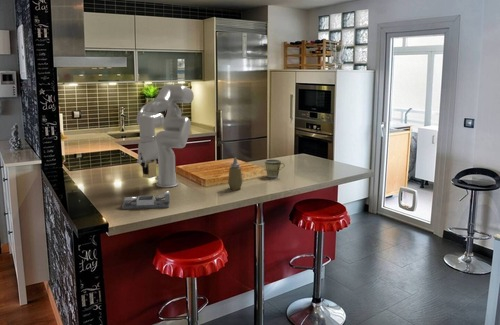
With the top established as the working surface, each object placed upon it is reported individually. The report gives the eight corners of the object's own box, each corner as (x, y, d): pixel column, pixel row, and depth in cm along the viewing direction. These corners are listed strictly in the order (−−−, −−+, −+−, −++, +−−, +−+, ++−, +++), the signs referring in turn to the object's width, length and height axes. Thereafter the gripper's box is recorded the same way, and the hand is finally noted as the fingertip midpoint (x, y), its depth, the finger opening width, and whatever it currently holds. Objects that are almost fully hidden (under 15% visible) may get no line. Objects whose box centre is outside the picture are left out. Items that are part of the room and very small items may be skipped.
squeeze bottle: (242, 186, 251) (242, 156, 247) (242, 190, 243) (242, 159, 239) (228, 186, 250) (228, 156, 247) (228, 190, 242) (227, 158, 239)
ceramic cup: (262, 177, 274) (262, 161, 272) (268, 173, 283) (269, 158, 281) (280, 179, 268) (281, 163, 266) (287, 176, 277) (287, 160, 275)
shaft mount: (121, 209, 208) (121, 194, 206) (124, 203, 217) (123, 189, 215) (170, 207, 211) (169, 193, 210) (170, 202, 220) (170, 188, 219)
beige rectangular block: (142, 176, 228) (142, 161, 226) (150, 174, 232) (149, 160, 230) (149, 178, 225) (148, 163, 223) (156, 176, 229) (155, 161, 227)
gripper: (155, 135, 232) (157, 168, 237) (129, 140, 219) (131, 175, 223) (165, 137, 228) (166, 170, 233) (139, 142, 215) (141, 177, 219)
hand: (149, 172), depth 228 cm, fingers closed on beige rectangular block, 5 cm apart
